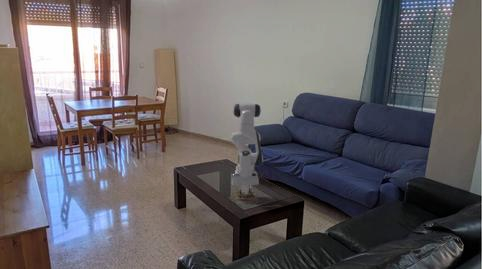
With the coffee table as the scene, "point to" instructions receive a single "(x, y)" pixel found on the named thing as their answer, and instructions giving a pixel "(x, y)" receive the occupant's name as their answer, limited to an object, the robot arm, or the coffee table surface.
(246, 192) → the white capsule with handle
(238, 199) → the cradle board
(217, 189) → the coffee table surface
